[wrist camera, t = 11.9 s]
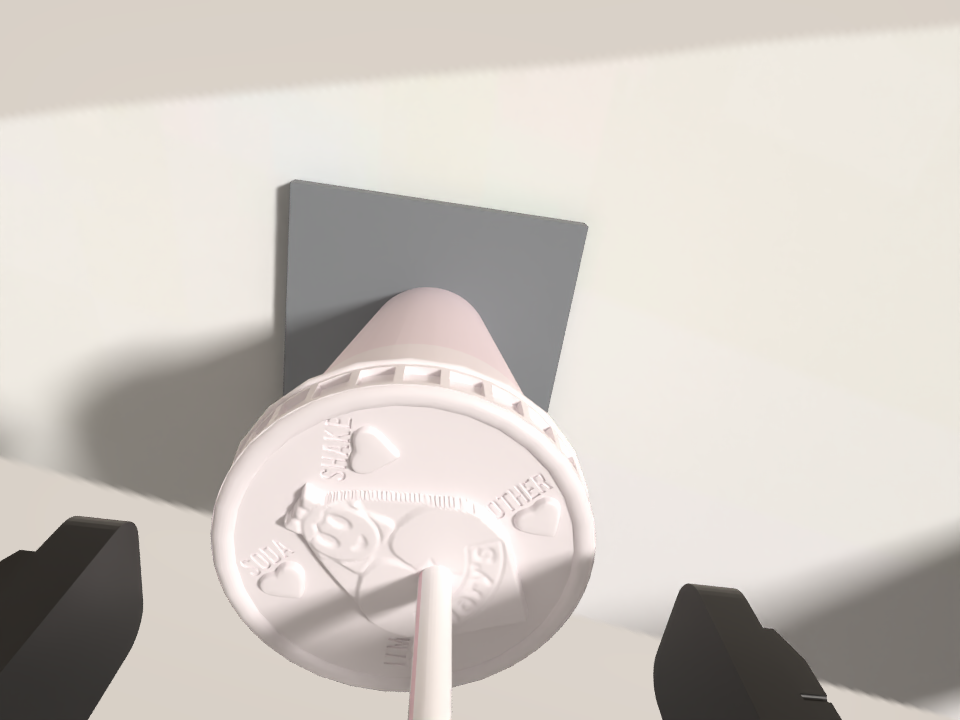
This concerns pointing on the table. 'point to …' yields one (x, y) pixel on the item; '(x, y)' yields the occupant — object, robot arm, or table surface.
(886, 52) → the table surface
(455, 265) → the coaster
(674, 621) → the robot arm
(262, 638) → the smoothie
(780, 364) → the table surface
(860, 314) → the table surface
